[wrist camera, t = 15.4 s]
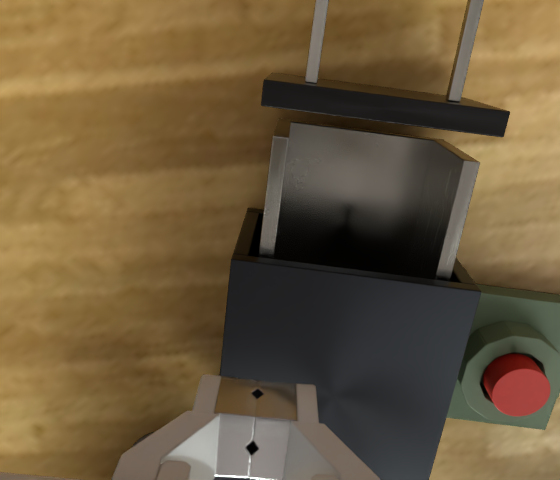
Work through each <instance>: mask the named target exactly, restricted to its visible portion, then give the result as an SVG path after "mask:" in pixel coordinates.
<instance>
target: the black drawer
mask: <svg viewBox="0 0 560 480" xmlns="http://www.w3.org/2000/svg"><path fill="white" fill-rule="evenodd" d="M483 2H484V0H468V1H467V5H466V10H465V14H464V19H463V23H462V28H461V32H460V37H459V41H458V46H457V50H456V54H455V59H454V63H453V68H452V72H451V77H450V81H449V86H448V90H447V95H439V94H432V93H424V92H416V91H409V90H401V89H393V88H386V87H378V86H371V85H363V84H355V83H348V82H340V81H332V80H325V79H318V73H319V66H320V59H321V52H322V45H323V38H324V31H325V24H326V17H327V10H328V3H329V0H316V1H315V8H314V16H313V23H312V31H311V38H310V46H309V53H308V61H307V68H306V75H305V77H302V76H294V75H287V74H279V73H271V74H270V75H269V76H268V77H267V78H265V79H264V82H263V91H262V100H261V106H266V107H273V108H281V109H289V110H296V111H304V112H312V113H319V114H327V115H335V116H342V117H350V118H358V119H365V120H373V121H381V122H388V123H396V124H404V125H411V126H419V127H427V128H434V129H442V130H450V131H457V132H465V133H473V134H480V135H488V136H496V137H504V133H505V130H506V126H507V122H508V118H509V115H510V112H509V111H507V110H503V109H500V108H497V107H493V106H490V105H486V104H483V103H480V102H476V101H473V100H470V99H466V98H462V97H461V96H462V91H463V87H464V83H465V79H466V74H467V70H468V66H469V61H470V57H471V53H472V49H473V44H474V40H475V36H476V31H477V27H478V23H479V19H480V14H481V10H482V6H483ZM479 165H480V162H478V161H477V160H475V159H474V158H472V157H470V156H469V155H467V154H466V153H464V152H463V151H461V150H459V149H458V148H456V147H455V146H453V145H451V144H450V143H448V142H446V141H444V140H443V139H435V138H428V137H420V136H412V135H405V134H397V133H389V132H382V131H374V130H366V129H359V128H351V127H343V126H335V125H328V124H320V123H312V122H305V121H297V120H289V119H282V118H279V119H278V121H277V124H276V127H275V130H274V134H273V137H272V146H271V154H270V163H269V171H268V180H267V188H266V197H265V205H264V213H263V222H262V230H261V239H260V247H259V256H258V257H261V258H269V259H276V260H284V261H292V262H300V263H308V264H316V265H323V266H331V267H339V268H347V269H355V270H362V271H370V272H378V273H386V274H394V275H402V276H409V277H417V278H425V279H433V280H441V281H448V282H450V278H451V274H452V270H453V266H454V262H455V259H456V255H457V251H458V247H459V243H460V239H461V235H462V231H463V227H464V223H465V220H466V216H467V212H468V208H469V204H470V200H471V196H472V192H473V188H474V184H475V181H476V177H477V173H478V169H479Z"/></svg>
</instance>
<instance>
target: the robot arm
mask: <svg viewBox="0 0 560 480" xmlns="http://www.w3.org/2000/svg"><path fill="white" fill-rule="evenodd" d="M215 476H223V477H239V478H252V479H260V480H380V478H379V477H378V476H377V475H376V474H375V473H374V472H373V471H372V470H371V469H370V468H369V467H368V466H367V465H366V464H365V463H364V462H362V461H361V460H360V459H359V458H358V457H357V456H356V455H355V454H354V453H353V452H352V451H351V450H350V449H349V448H348V447H347V446H346V445H345V444H344V443H343V442H342V441H341V440H340V439H339V438H338V437H337V436H336V435H335V434H334V433H333V432H332V431H331V430H330V429H329V428H328V427H327V426H326V425H325V424H321V423H319V418H318V408H317V397H316V386H315V385H314V384H298V383H296V384H293V383H280V382H267V381H259V380H252V379H244V378H235V377H227V376H222V377H221V376H219V375H208V374H203V375H202V376H201V379H200V383H199V387H198V390H197V394H196V398H195V401H194V405H193V409H192V411H186V412H184V413H183V414H181V415H180V416H178V417H177V418H175V419H174V420H172V421H171V422H169V423H168V424H166V425H165V426H163V427H162V428H160V429H159V430H157V431H156V432H154V433H153V434H151V435H150V436H148V437H147V438H145V439H144V440H142V441H141V442H139V443H138V444H136V445H135V446H133V447H132V448H130V449H129V450H127V451H126V452H124V453H123V454H122V455H121V457H120V460H119V462H118V464H117V467H116V469H115V471H114V474H113V476H112V478H111V480H213V479H214V478H215ZM0 480H81V479H70V478H59V477H48V476H37V475H26V474H15V473H4V472H0Z"/></svg>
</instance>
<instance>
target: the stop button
mask: <svg viewBox="0 0 560 480" xmlns="http://www.w3.org/2000/svg"><path fill="white" fill-rule="evenodd" d="M483 383H484V386H485V389H486V391H487V392H488V394H489V396H490V398H491V400H492V401H493V403H494V405H495V407H496V408H497V409H498V410H499V411H501V412H502V413H504V414H506V415H510V416H526V415H529V414H532V413H534V412H536V411H538V410H539V409H540V408H542V407H543V406H544V405H545V403H546V402H547V400H548V398H549V396H550V383H549V381H548V379H547V378H546V376H545V375H544V374H543V372H542V371H541V370H540V368H539V367H538V366H537V364H536V363H535V362H534V361H533V360H532V359H531V358H529V357H528V356H525V355H522V354H506V355H503V356H500V357H498V358H497V359H495V360H494V361H492V362H491V363H490V364H489V366H488V367H487V368H486V370H485V373H484V377H483Z"/></svg>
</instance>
